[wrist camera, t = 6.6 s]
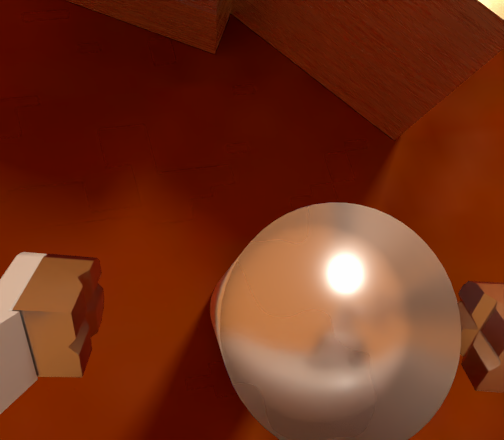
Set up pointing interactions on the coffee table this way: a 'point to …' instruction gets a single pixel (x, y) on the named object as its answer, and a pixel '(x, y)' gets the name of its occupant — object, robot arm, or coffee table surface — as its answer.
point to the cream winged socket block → (347, 43)
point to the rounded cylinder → (338, 326)
